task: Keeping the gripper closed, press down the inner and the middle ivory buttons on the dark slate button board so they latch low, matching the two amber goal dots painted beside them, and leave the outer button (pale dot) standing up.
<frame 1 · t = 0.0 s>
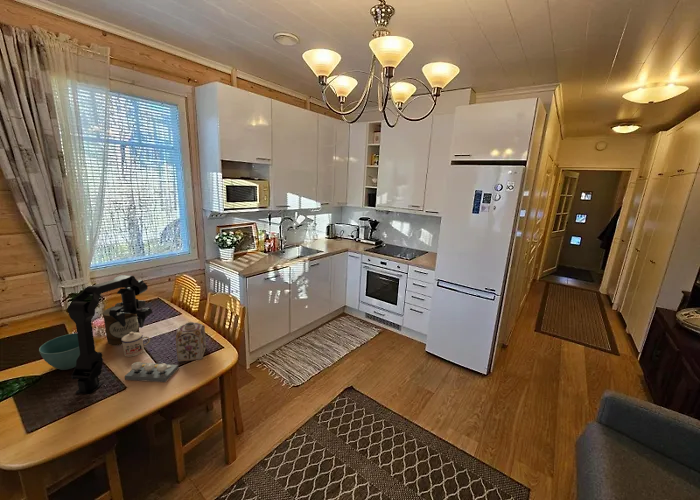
hand: (133, 326, 155), 15 cm above the table, fingers open, 9 cm apart
button outer: (162, 369, 139), point 4 cm above the table, slide at 0.0 cm
button inner: (136, 367, 139), point 4 cm above the table, slide at 0.0 cm
plant pot: (70, 365, 146), on the table
board: (152, 373, 142), on the table
decorative jar: (192, 354, 158), on the table
teacup with lid: (137, 351, 159), on the table
button middle: (149, 368, 139), point 4 cm above the table, slide at 0.0 cm
wooden container: (124, 339, 170), on the table
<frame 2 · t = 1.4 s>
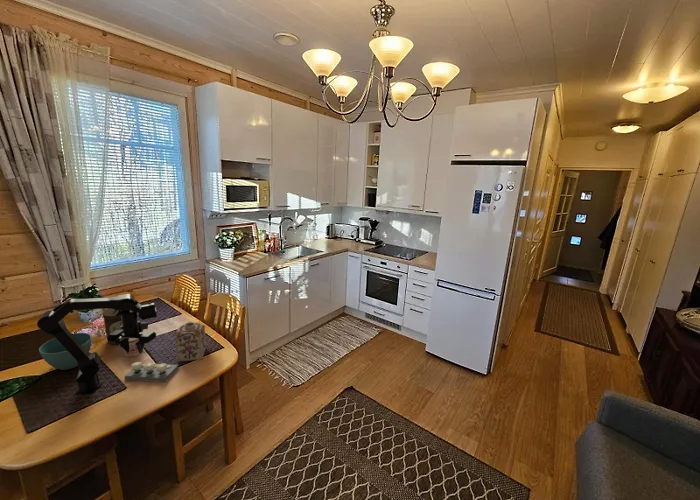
hand: (134, 352, 138), 12 cm above the table, fingers open, 6 cm apart
nothing on the table moved.
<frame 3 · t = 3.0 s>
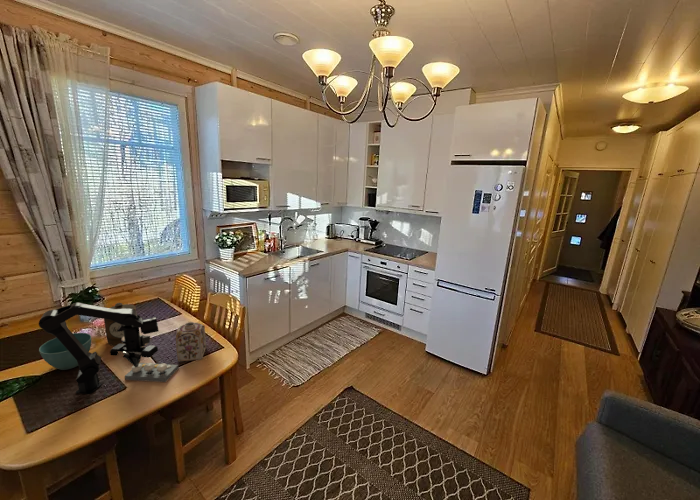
hand: (136, 366, 139), 5 cm above the table, fingers closed, pressing on button inner
button inner: (137, 369, 140), point 3 cm above the table, slide at -1.1 cm, touching gripper
everything else where it was.
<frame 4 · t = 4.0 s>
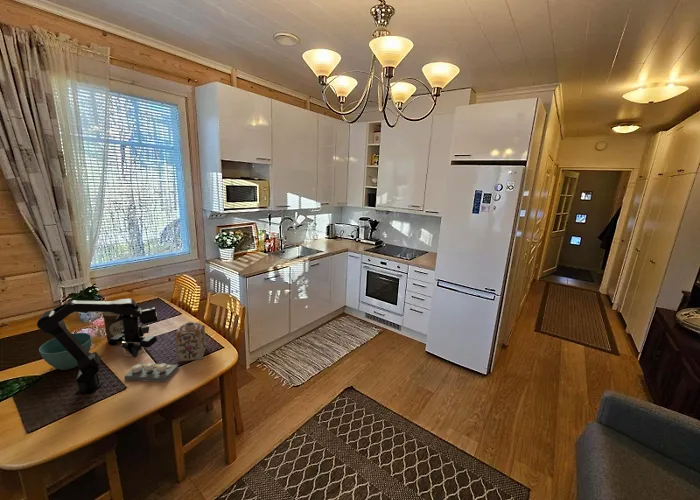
hand: (135, 356, 138), 10 cm above the table, fingers closed
button inner: (137, 370, 140), point 3 cm above the table, slide at -1.4 cm
everything else where it was.
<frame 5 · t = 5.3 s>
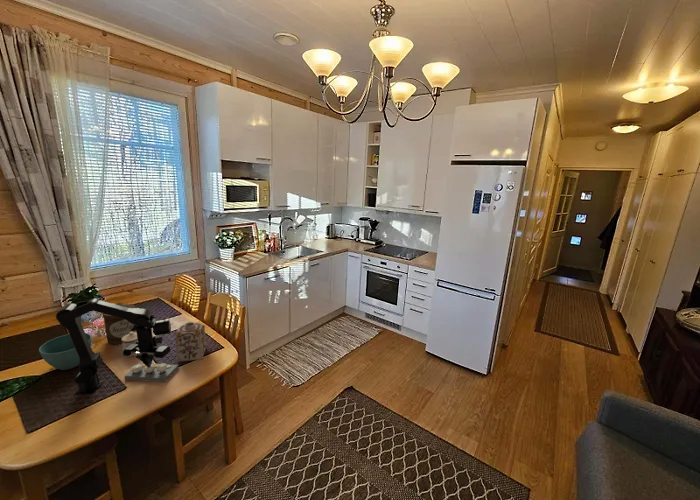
hand: (149, 366, 139), 5 cm above the table, fingers closed, pressing on button middle
button middle: (149, 370, 140), point 3 cm above the table, slide at -0.9 cm, touching gripper
everything else where it was.
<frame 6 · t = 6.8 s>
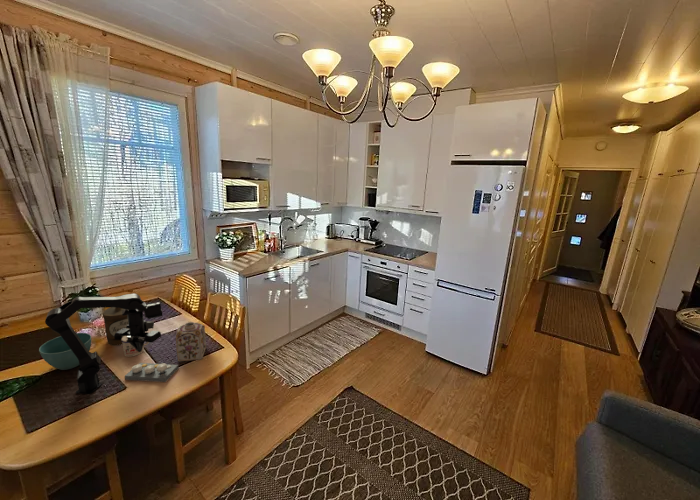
hand: (139, 351, 140), 11 cm above the table, fingers closed
button middle: (149, 370, 140), point 3 cm above the table, slide at -1.4 cm
everything else where it was.
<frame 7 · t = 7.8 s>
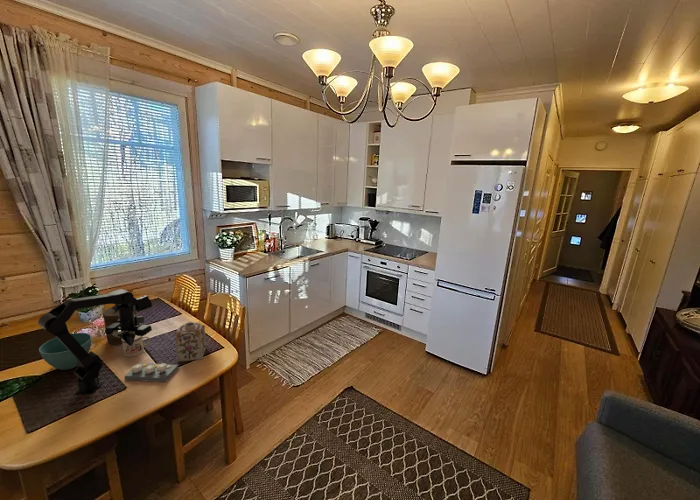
hand: (131, 345, 143), 12 cm above the table, fingers closed
nothing on the table moved.
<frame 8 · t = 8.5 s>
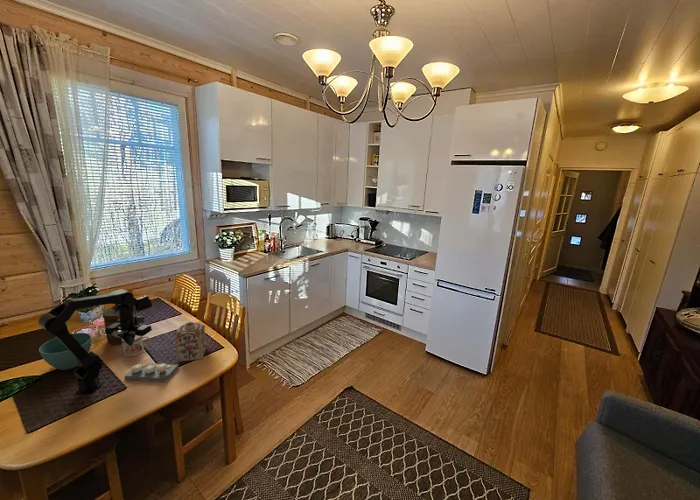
hand: (131, 345, 143), 12 cm above the table, fingers closed
nothing on the table moved.
at the end: button inner slide at -1.4 cm; button middle slide at -1.4 cm; button outer slide at 0.0 cm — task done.
